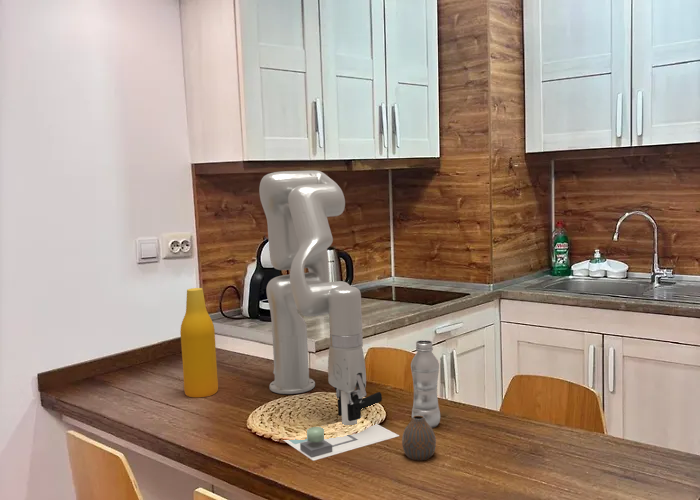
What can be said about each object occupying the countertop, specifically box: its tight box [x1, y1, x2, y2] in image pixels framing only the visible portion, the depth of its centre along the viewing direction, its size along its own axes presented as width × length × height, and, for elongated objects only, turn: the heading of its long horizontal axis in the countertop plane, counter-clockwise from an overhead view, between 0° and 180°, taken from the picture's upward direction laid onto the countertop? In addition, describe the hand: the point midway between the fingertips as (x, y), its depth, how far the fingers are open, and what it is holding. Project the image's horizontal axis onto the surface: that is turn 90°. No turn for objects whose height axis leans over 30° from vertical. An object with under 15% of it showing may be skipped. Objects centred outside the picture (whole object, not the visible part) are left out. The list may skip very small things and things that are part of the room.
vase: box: [401, 415, 437, 461], centre depth 145 cm, size 7×7×9 cm
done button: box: [306, 426, 324, 442], centre depth 150 cm, size 4×4×2 cm
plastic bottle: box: [410, 339, 441, 429], centre depth 162 cm, size 6×7×20 cm
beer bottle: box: [179, 287, 219, 399], centre depth 193 cm, size 9×9×29 cm
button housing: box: [300, 440, 332, 457], centre depth 150 cm, size 5×5×2 cm
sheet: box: [282, 423, 400, 462], centre depth 158 cm, size 16×22×1 cm
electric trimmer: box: [360, 391, 383, 409], centre depth 176 cm, size 4×15×3 cm, turn 141°
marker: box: [341, 387, 357, 425], centre depth 164 cm, size 4×4×10 cm
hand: (349, 416), depth 165 cm, fingers closed on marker, 3 cm apart
